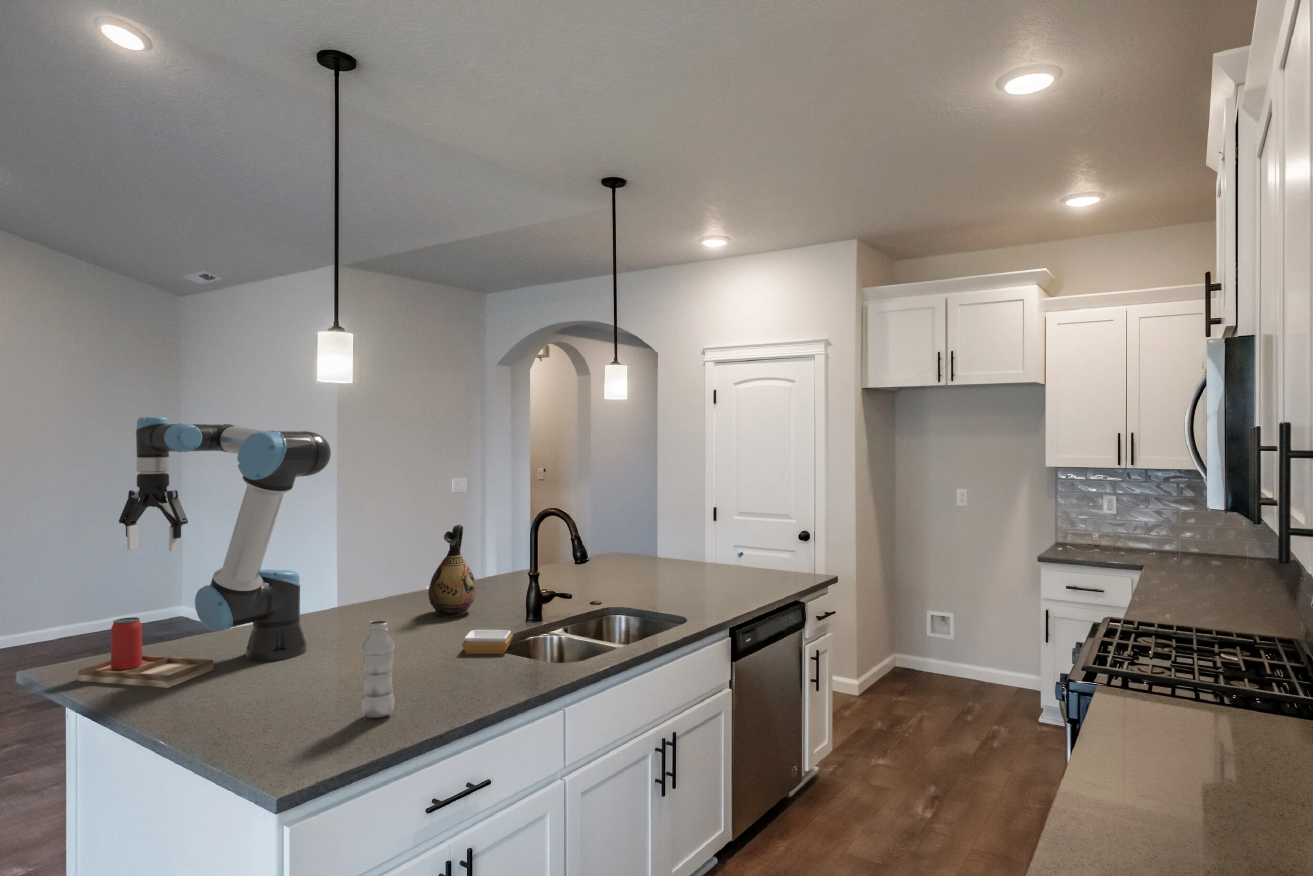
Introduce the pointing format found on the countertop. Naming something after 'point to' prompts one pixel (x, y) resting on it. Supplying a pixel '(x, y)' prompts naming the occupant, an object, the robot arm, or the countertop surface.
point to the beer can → (126, 643)
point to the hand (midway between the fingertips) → (153, 549)
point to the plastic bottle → (378, 671)
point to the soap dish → (487, 641)
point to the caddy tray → (149, 671)
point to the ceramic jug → (452, 580)
